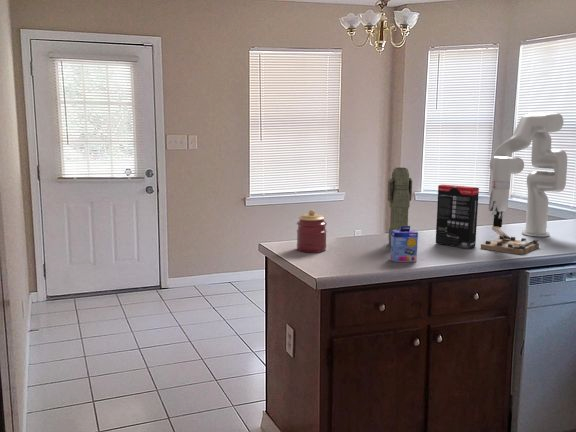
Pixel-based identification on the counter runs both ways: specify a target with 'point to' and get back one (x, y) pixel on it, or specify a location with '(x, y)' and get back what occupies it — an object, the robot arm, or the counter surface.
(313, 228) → the canister
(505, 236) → the strap
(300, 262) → the counter surface
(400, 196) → the green statue
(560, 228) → the counter surface
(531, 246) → the latch board
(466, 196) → the graphics card box
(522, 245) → the strap
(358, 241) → the counter surface
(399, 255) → the ink cartridge box
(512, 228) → the counter surface
